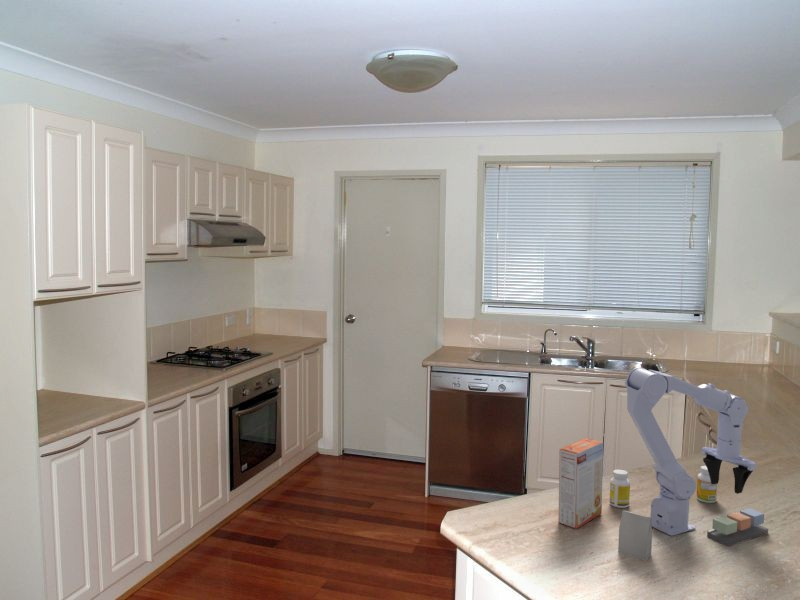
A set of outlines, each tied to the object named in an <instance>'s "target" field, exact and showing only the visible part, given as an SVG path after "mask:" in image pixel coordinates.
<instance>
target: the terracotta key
mask: <svg viewBox="0 0 800 600" xmlns="http://www.w3.org/2000/svg"><path fill="white" fill-rule="evenodd" d="M726 517H727V518H729V519H732V520H734V521H736V522H737V529H738V530H740V531H741V530H744V529H747V528H750V526H751V518H750V517H748V516H745V515H743V514H741V513H740V512H737V511H736V512H731V513H729V514H726Z"/></svg>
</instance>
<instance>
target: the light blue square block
mask: <svg viewBox="0 0 800 600" xmlns="http://www.w3.org/2000/svg"><path fill="white" fill-rule="evenodd" d="M739 513H741V514H743V515H745V516H748V517H750V518H751V525H752V526H757V525H760V526H761V525H762V524H764V522H765V513H763V512H761V511H758V510H755V509H753V508H751V507H750V508H745V509H742V510H740V511H739Z"/></svg>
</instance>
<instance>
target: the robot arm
mask: <svg viewBox="0 0 800 600" xmlns="http://www.w3.org/2000/svg"><path fill="white" fill-rule="evenodd" d="M624 384H625V387H626V391H627V392H626V393H627V395H626V396H627V397H626V398H627V399H626V404H627V405H626V406H627V407H626V409H627V412H628V413H629V416H630V417H631V419H632V421H633V423H634V425H635V428H637V431H638V433H639V435H640V437H641V438H642V442H643V443H644V445H645V446H646V448H647V450H648V452H649V454H650V456H651V457H652V461H653V462H654V465H653V469H654V471H655V480H656V482H657V483H658V484H659V491H660V492H659V494H658V496H656V497H655V498H653V499H652V501H651V504H650V516H649V517H651V526H652V528H655V529H657V530H659V531H661V532H662V533H665V534H667V535H668V536H676V535H679V534H682V533H683V534H684V533H686V532H690V531H693V530H695V529H696V526H694V525H693V524H690V523H689V515H690V500H691V497H693V495H694V494H695V492H696V491H697V482H696V481H695V479H694V478H693V477H692V476H691V475H689V474H688V473H687V471H686V469H685V468H684V467H683V466H682V464H681V463H680V462H679V461H678V460H677V459H676V456H675V454H674V453H673V450H672V449H671V447H670V445H669V443H668V441H667V439H666V436H665V435H664V433H663V432H662V429H661V427H660V425H659V423H658V422H657V419H656V417H655V415H654V414H653V411H652V410H653V408H655V406H656V405H657V404H658V403H659V401H660V400H661V399H662V397H664V395H665V394H668V395H669V394H670V392H672V391H675V392H678V393H680V394H683V395H686V396H689V397H690V398H691V397H692V398H693V401H694V402H695V404H697V405H699V406H700V407H703V408H707V409H709V410H712V411H715V412H717V413H718V418H717V436H716V437H717V438H716V448H714V447H710V446H704V447H702V448H701V455H703V456H705V457H703V458H702V461H703V463H704V466H706V467H707V469H708V472H709V476H710V480H711V484H713V485H714V484H717V485H718V484H719V480H720V471H721V465H722V462H723V461H724V462H725V463H726V462H727V463H729V464H732V465H734V466H735V467H732V472H733V475H734V476H733V477H734V494H741V493H742V494H743V491H744V487H745V485H746V482H747V480H748V478H749V477H750V476H751V475H752V473H753V472H754V471H756V470H757V463H756V462H755V461H752V460H751V459H748V458H746V457H744V456H742V455H741V450H742V435H743V434H742V432H743V431H742V430H743V424H744V422H745V421H744V419H745V416H747V414H748V412H749V409H750V408H749V407H748V406H747V402H746V401H745V399H744V398H742V397H740V396H737V395H736V394H735V395H734V394H732V393H731V392H730V390H726V389H724V390H721V389H718V388H717V387H716V385H715V384H713V383H710V382H708V383H707V384H705V383H702V384H700V385H695V384H693V383H691V382H688V381H685V380H683V379H680V378H678V377H676V376H674V375H670V374H668V373H665V372H660V371H657V370H654V369H648V370H647V369H646V368H644V367H641V366H638V367H635V368H633V369H631V370H630V371H629V373H628V375H627V377H626V380H625V382H624Z"/></svg>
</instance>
